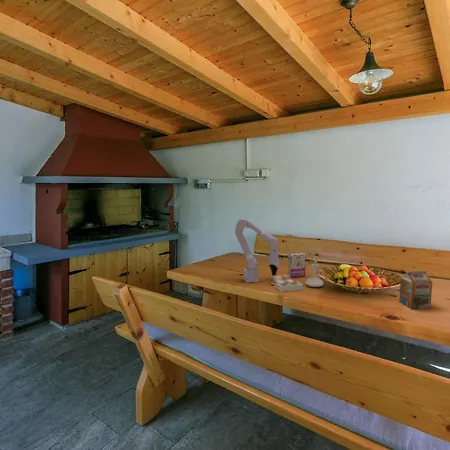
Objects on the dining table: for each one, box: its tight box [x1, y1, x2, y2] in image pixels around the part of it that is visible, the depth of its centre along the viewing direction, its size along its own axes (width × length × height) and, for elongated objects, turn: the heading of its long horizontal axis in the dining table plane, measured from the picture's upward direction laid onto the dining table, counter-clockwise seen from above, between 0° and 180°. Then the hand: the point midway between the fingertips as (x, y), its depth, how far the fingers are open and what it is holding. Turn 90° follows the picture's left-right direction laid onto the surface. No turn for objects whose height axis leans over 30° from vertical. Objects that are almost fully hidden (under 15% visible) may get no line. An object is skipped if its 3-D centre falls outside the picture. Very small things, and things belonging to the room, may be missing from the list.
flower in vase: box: [304, 247, 324, 288], centre depth 207 cm, size 13×11×25 cm
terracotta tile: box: [280, 274, 291, 280], centre depth 214 cm, size 4×4×2 cm
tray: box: [275, 280, 304, 293], centre depth 202 cm, size 15×8×4 cm, turn 104°
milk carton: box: [398, 270, 433, 310], centre depth 172 cm, size 11×11×19 cm
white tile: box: [272, 274, 282, 281], centre depth 213 cm, size 4×4×2 cm
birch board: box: [271, 278, 296, 287], centre depth 212 cm, size 12×10×3 cm
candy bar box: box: [287, 252, 306, 279], centre depth 228 cm, size 11×5×16 cm, turn 104°
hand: (273, 275), depth 219 cm, fingers closed
